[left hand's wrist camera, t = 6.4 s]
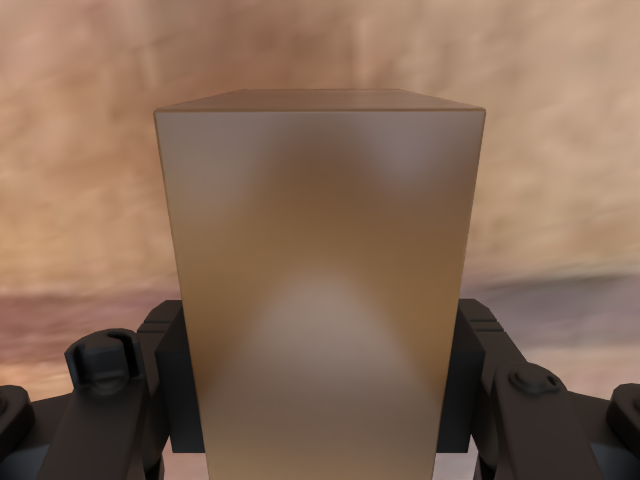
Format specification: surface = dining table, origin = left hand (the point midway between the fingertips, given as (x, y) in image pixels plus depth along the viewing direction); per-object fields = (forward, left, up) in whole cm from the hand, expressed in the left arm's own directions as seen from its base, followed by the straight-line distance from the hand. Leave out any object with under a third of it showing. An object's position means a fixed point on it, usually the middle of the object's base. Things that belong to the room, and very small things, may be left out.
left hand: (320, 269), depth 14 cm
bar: (-29, +6, -1) cm, 30 cm away
